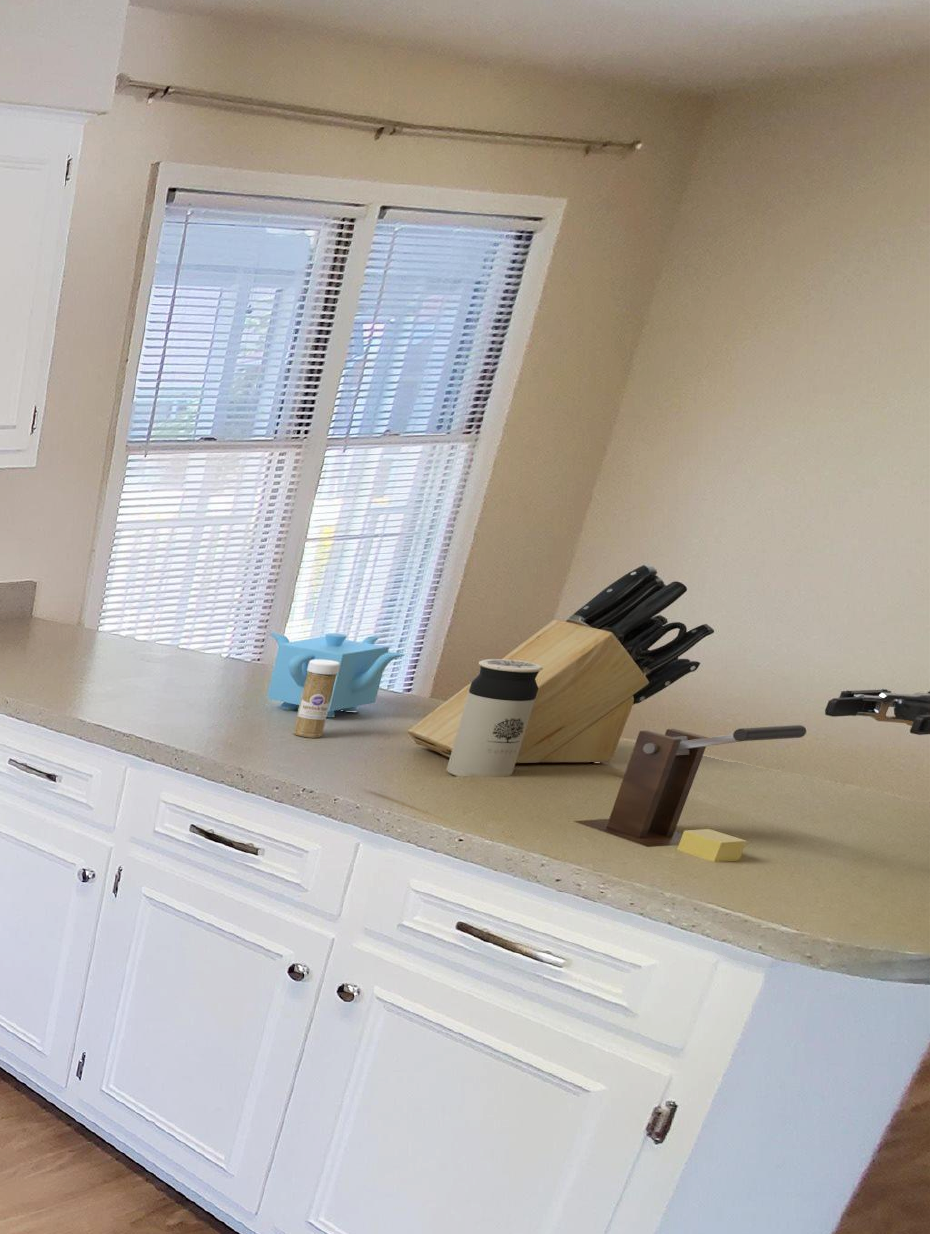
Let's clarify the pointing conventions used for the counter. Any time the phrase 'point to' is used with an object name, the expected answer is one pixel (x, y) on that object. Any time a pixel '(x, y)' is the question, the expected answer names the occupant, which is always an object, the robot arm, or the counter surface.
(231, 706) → the counter surface
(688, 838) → the butter
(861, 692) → the robot arm
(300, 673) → the teakettle
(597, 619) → the knife block
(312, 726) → the sprinkles bottle
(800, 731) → the lever
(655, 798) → the stand
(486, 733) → the travel mug
